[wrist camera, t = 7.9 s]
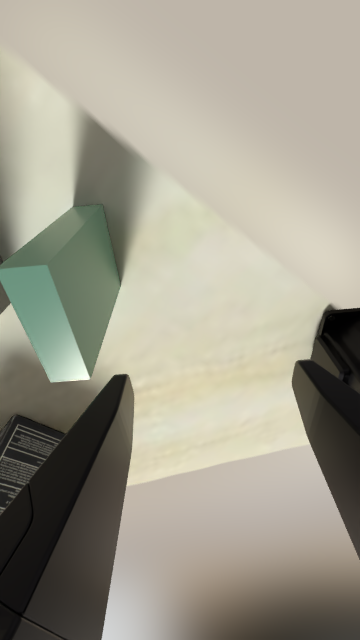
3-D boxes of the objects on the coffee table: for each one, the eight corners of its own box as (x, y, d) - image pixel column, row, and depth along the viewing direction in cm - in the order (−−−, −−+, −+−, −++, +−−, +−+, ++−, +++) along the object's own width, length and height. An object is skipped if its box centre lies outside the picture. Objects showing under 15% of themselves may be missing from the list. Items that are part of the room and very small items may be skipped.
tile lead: (102, 204, 17) (46, 264, 9) (120, 285, 20) (90, 379, 12) (72, 206, 17) (-6, 269, 9) (95, 287, 20) (50, 382, 13)
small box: (-10, 441, 30) (-83, 566, 22) (15, 411, 28) (-57, 541, 19) (77, 472, 34) (45, 588, 26) (106, 449, 32) (82, 570, 23)
